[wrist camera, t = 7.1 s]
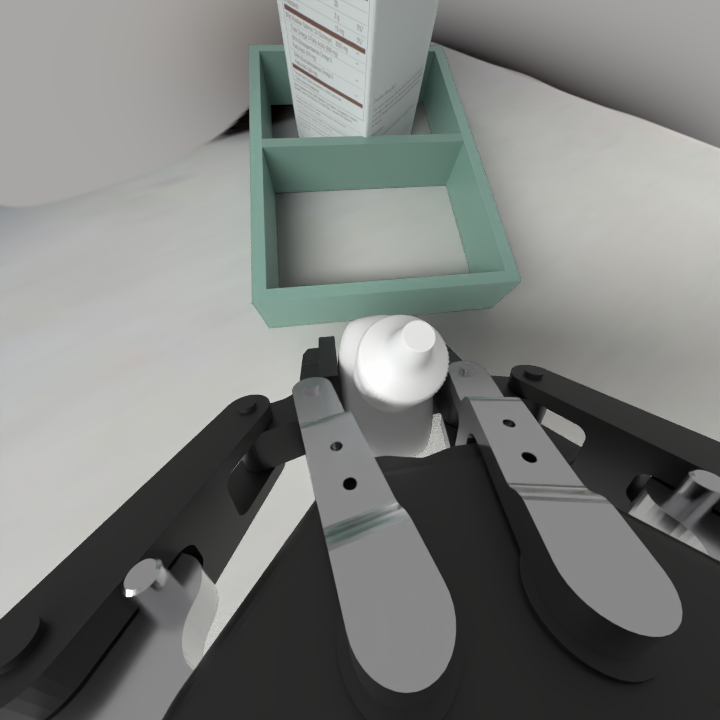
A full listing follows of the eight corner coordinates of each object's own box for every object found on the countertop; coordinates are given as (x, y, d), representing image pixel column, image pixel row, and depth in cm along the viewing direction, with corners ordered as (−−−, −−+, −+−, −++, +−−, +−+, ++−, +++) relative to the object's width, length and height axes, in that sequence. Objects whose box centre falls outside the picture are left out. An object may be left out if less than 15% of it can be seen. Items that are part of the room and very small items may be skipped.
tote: (269, 328, 18) (251, 303, 15) (261, 98, 24) (248, 44, 21) (490, 308, 19) (521, 280, 16) (429, 96, 26) (442, 45, 22)
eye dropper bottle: (319, 437, 16) (260, 436, 5) (349, 355, 18) (360, 202, 6) (387, 461, 16) (501, 521, 4) (411, 376, 18) (539, 259, 6)
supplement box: (348, 97, 25) (352, -229, 13) (412, 136, 24) (483, -178, 12) (295, 139, 23) (239, -198, 11) (362, 183, 22) (385, -133, 10)
